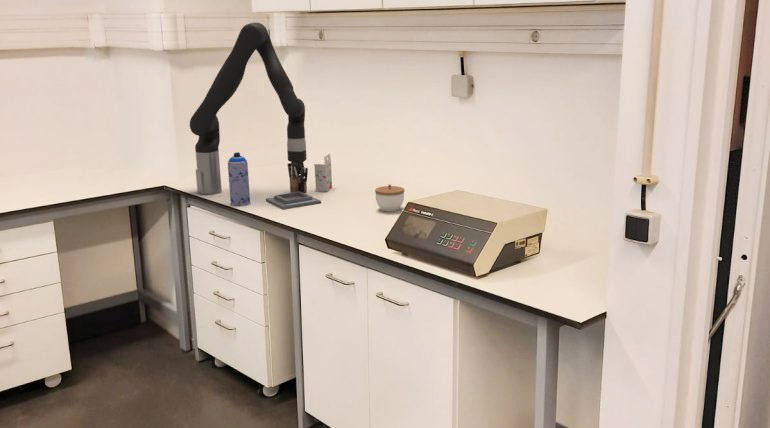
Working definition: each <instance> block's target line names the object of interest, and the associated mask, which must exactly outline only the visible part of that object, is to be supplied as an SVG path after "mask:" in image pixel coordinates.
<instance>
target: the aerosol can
mask: <svg viewBox="0 0 770 428" xmlns="http://www.w3.org/2000/svg"><path fill="white" fill-rule="evenodd" d="M248 163H249V162H248V160H247V159H246V157H244V156H242V155H241V152H237V151H236V152H233V156H232V157H230V158H229V159H228V160H227V171H228V172H227V174H228V185H229V186H228V187H229V197H230V202H229V205H230V206H232V207H245V206H246V207H247V206H249V205H251V203H252V202H251V194H250V178H249V167H248V166H249V165H248Z"/></svg>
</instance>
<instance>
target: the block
mask: <svg viewBox="0 0 770 428" xmlns="http://www.w3.org/2000/svg"><path fill="white" fill-rule="evenodd" d="M298 183H299V182H298V178H297V177H294V178H290V177H289V190H290V191H289V193H292V192H299V185H298ZM307 189H308V188H307V182H304V192H302V193H304V194H307V193H308V190H307Z"/></svg>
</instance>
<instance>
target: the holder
mask: <svg viewBox="0 0 770 428" xmlns="http://www.w3.org/2000/svg"><path fill="white" fill-rule="evenodd" d="M265 202H267V203H269V204H271V205H273V206H274V207H278V208H279V209H282V210H289V209H294V208H295V209H296V208H300V207H308V206H311V205H318V204H322V200H321V199H318V198H315V197H313V196H312V195H309V194H307V193H302V192H300V191H299V192H292V193H291V192H287V193H280V194H275V195H273V197H268V198H265Z"/></svg>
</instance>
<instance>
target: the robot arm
mask: <svg viewBox="0 0 770 428" xmlns="http://www.w3.org/2000/svg"><path fill="white" fill-rule="evenodd" d="M255 51H257V53H258V54H259V56H260V57H261V60H262V62H263V65H264V68H265V71H266V72H265V73H266V75H267V77H268V79H269V82H270V84H271V85H272V88H273V89H274V91H275V93H276V94H277V96H278V98H279V102H280V103H281V106H282V109H283V110H284V112H285V114H286V115H287V121H288V122H287V126H286V135H287V136H286V137H287V139H286V140H287V141H286V148H287V149H286V150H287V151H286V152H287V161H288V162H289V163H287V170H288V176H289V177H288V178H289V179H290V178H294V177H297V178H298V182H299V183H298V185H299V191H300V192H304V182H306V183H307V182H308V172H309V171H308V169H309V167H305V164H304V162H306V161H307V142H306V131H305V130H306V129H305V118H306V117H305V116H306V106H305V103H304V101H303V100H302V99H301V98H298V96H297V95H296V93H295V91H294V86H293V83H292V81H291V80H290V78H289V76H288V74H287V72H286V70H285V69H284V67H283V65H282V63H281V61H280V59H279V57H278V55H277V52H276V50H275V48H274V45H273V43H272V39H271V37H270V34H269V31H268V30H267V27H266V26H265V25H264V24H262V23H260V22H251V23H247V24H245V25H244V26H243V27H241V29H240V32H239V34H238V35H237V39H236V41H235V44H234V45H233V48H232V50H231V52H230V53H229V55H228V56H227V58H226V59H225V61H224V63H223V64H222V66H221V68H220V69H219V70H218V73H217V74H216V76H215V78H214V80H213V82H212V83H211V86H210V88H209V89H208V91H207V92H206V95H205V97H204V99H203V100H202V102H201V103H200V105H199V106H198V108H197V109H196V111H195V112H194V113H193V115H192V116H191V118H190V119H189V129H190V131H191V133H192V134H194V135H195V136H198V140H197V142H196V143H195V145H194V146H195V147H194V149H195V161H196V169H195V176H196V177H195V179H196V181H195V182H196V190H197V191H196V192H197V193H199V194H200V193H201V195H214V194H218V193H221V192H222V191H223V189H222V177H221V164H220V153H219V152H220V151H219V145H220V139H221V137H220V136H221V135H220V122H219V118H218V116H217V114H218V112H219V111H220V110H221V108H222V107H223V106H224V105H226V103H227V102H228V101H229V100H230V99H231V98H232V97H233V96H234V95H235V93H236V91H237V90H238V88H239V86H240V85H241V83H242V82H243V78H244V76H245V72H246V68H247V64H248V63H249V60H250V59H251V57H252V56H253V54H254V52H255Z"/></svg>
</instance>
